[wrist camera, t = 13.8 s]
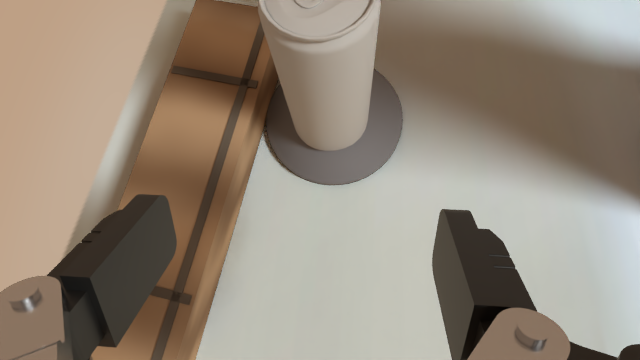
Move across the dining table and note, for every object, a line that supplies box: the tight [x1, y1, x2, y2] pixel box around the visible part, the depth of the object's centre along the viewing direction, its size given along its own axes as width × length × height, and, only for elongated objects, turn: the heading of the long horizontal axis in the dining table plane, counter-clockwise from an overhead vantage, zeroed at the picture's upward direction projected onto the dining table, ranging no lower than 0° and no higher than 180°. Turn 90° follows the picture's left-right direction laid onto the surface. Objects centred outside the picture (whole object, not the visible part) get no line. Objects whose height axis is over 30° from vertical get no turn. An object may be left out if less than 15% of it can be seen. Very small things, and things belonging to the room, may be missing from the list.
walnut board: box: [91, 0, 279, 360], centre depth 25 cm, size 24×6×3 cm, turn 167°
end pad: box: [266, 69, 403, 185], centre depth 27 cm, size 9×9×1 cm
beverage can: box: [258, 0, 381, 151], centre depth 21 cm, size 5×5×12 cm
